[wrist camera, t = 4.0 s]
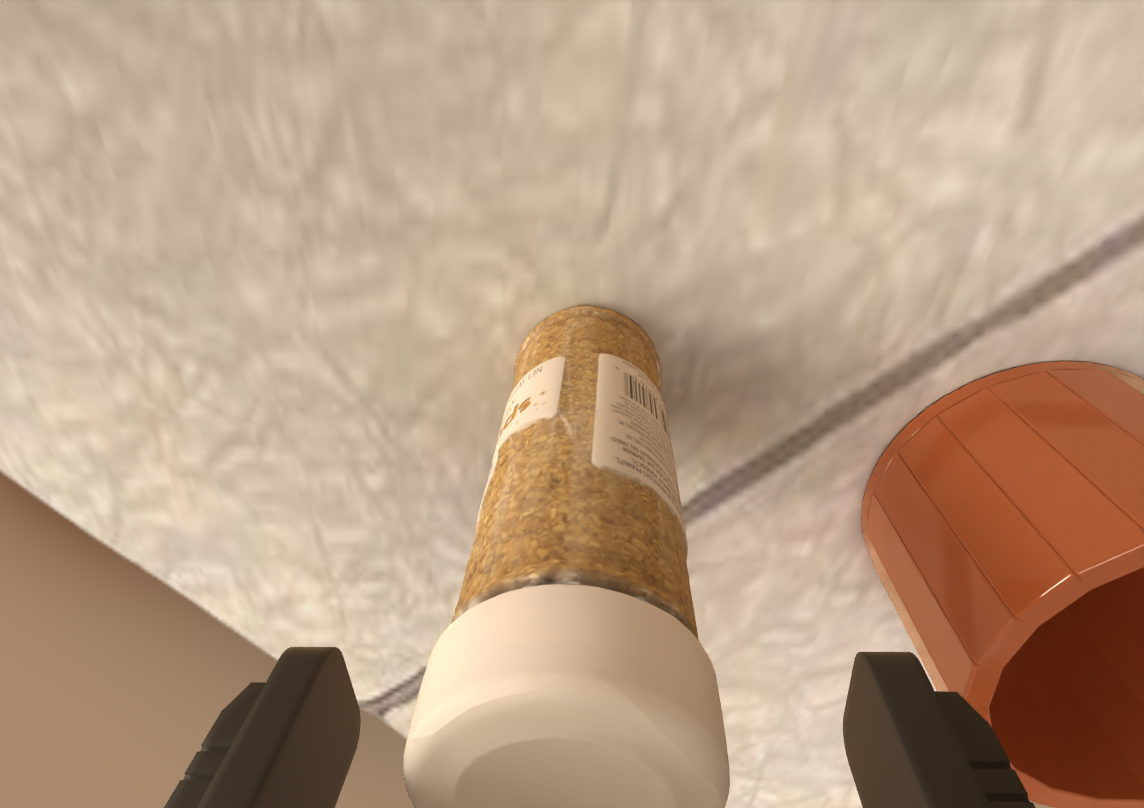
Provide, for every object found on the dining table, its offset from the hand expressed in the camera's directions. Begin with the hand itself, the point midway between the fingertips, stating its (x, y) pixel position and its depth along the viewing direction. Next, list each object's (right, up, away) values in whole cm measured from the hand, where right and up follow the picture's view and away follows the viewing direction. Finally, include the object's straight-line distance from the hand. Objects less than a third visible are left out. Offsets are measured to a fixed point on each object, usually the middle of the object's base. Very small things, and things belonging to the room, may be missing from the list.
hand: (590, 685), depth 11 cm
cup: (+14, +1, +12) cm, 19 cm away
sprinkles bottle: (0, +6, +10) cm, 12 cm away
